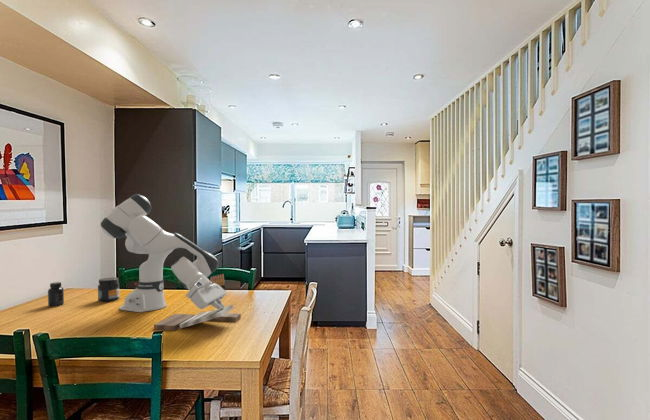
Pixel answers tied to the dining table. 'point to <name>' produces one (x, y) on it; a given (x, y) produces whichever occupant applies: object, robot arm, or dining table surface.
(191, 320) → the ash plank
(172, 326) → the walnut boards
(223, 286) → the ammunition clip
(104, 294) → the supplement container
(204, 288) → the robot arm
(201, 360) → the dining table surface
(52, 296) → the supplement bottle
